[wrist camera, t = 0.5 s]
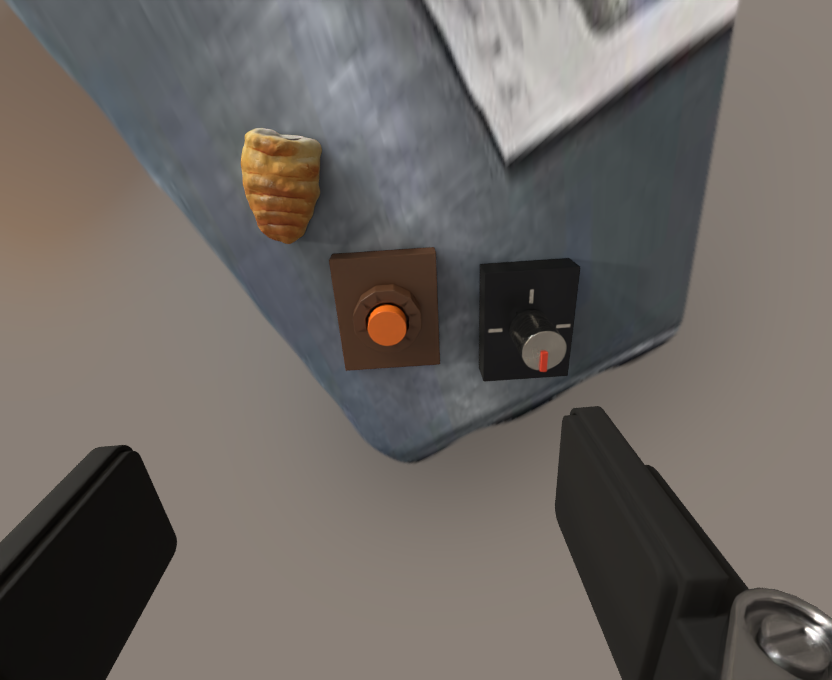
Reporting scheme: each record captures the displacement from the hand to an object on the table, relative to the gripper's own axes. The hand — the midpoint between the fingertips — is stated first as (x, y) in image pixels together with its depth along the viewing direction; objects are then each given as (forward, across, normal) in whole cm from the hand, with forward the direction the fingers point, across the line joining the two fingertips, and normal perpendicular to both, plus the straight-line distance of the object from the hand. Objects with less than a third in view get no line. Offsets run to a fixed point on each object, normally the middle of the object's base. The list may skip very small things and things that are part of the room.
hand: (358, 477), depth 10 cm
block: (+34, +1, +9) cm, 36 cm away
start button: (+31, +1, +9) cm, 32 cm away
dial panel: (+34, -13, +11) cm, 38 cm away
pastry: (+34, +9, -4) cm, 36 cm away
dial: (+31, -13, +11) cm, 36 cm away
